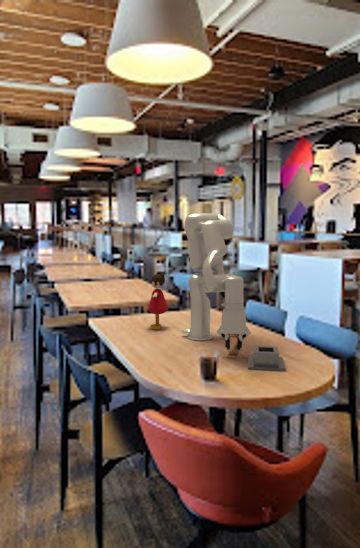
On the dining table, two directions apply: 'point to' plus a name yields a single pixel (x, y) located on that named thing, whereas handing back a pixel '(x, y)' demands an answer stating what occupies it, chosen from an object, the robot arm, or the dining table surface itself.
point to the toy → (157, 299)
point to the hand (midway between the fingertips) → (233, 348)
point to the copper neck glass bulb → (233, 346)
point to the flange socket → (266, 359)
